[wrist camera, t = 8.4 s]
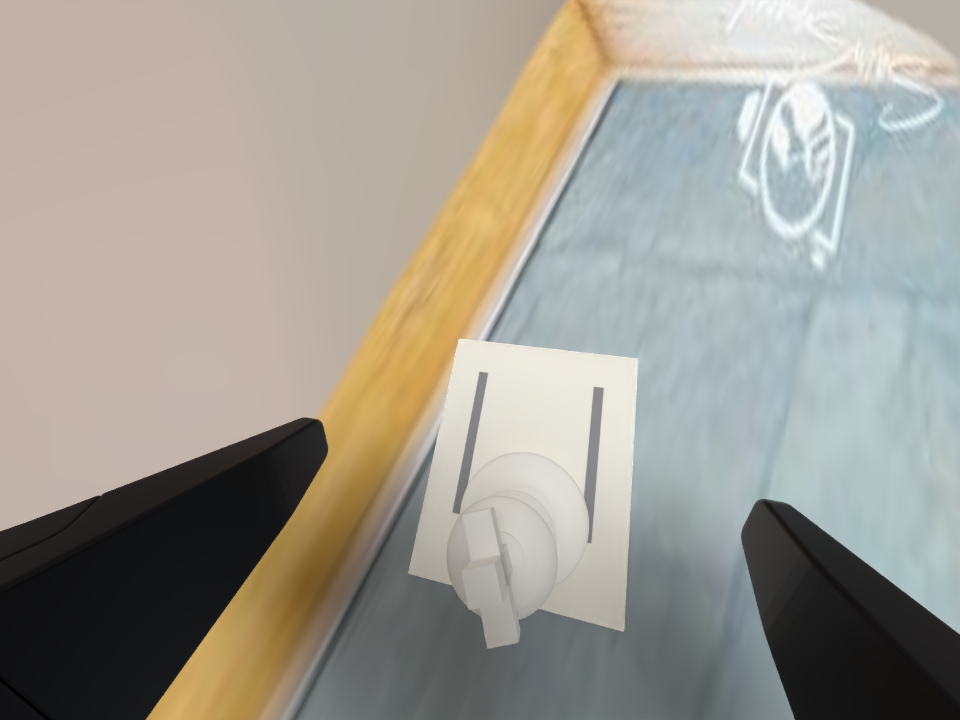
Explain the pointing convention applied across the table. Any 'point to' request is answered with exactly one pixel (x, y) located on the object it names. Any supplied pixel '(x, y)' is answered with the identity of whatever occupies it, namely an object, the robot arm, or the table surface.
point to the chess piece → (515, 540)
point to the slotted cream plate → (553, 434)
